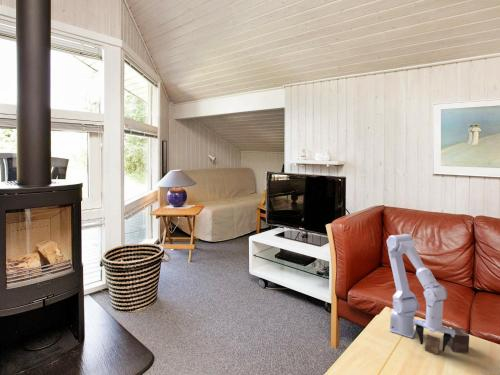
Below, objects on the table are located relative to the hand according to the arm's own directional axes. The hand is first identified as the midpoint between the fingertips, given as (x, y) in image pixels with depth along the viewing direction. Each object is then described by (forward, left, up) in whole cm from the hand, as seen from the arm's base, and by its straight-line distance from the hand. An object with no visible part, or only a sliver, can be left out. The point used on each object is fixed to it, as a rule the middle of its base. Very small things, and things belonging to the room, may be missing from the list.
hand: (432, 346), depth 128 cm
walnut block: (0, 0, -2) cm, 2 cm away
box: (+8, +8, -2) cm, 11 cm away
